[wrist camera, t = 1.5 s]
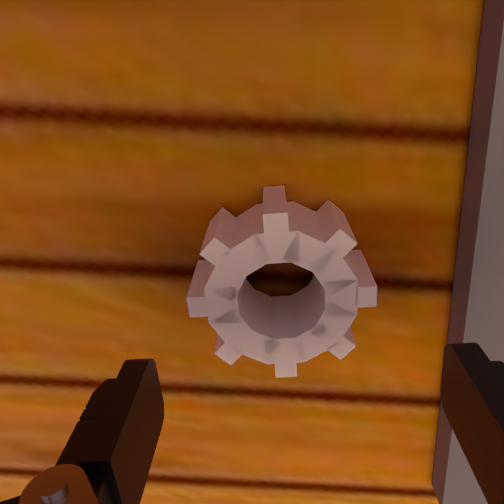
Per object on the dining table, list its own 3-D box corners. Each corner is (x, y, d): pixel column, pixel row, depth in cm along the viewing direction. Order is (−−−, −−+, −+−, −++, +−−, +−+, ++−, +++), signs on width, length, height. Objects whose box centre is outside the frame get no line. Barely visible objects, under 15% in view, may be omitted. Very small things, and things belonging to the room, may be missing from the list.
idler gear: (187, 192, 17) (173, 220, 15) (361, 179, 17) (379, 205, 14) (209, 335, 20) (200, 381, 17) (359, 327, 20) (374, 373, 17)
